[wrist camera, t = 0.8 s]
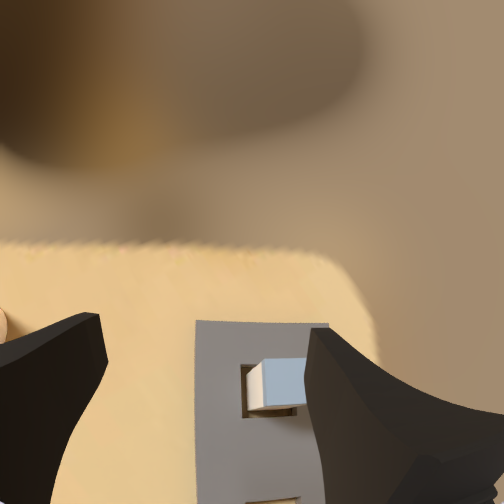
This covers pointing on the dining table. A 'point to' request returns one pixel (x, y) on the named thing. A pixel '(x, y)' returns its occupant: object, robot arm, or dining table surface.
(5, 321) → the white round cup
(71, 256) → the dining table surface
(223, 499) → the socket board
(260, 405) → the plug
